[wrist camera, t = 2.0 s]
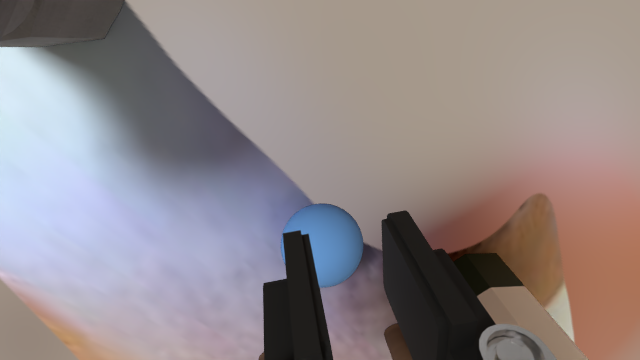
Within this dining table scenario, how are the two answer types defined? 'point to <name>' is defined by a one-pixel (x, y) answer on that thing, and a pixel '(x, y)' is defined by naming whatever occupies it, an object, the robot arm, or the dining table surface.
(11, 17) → the coffeepot
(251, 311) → the dining table surface
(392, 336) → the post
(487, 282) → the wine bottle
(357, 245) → the ball
